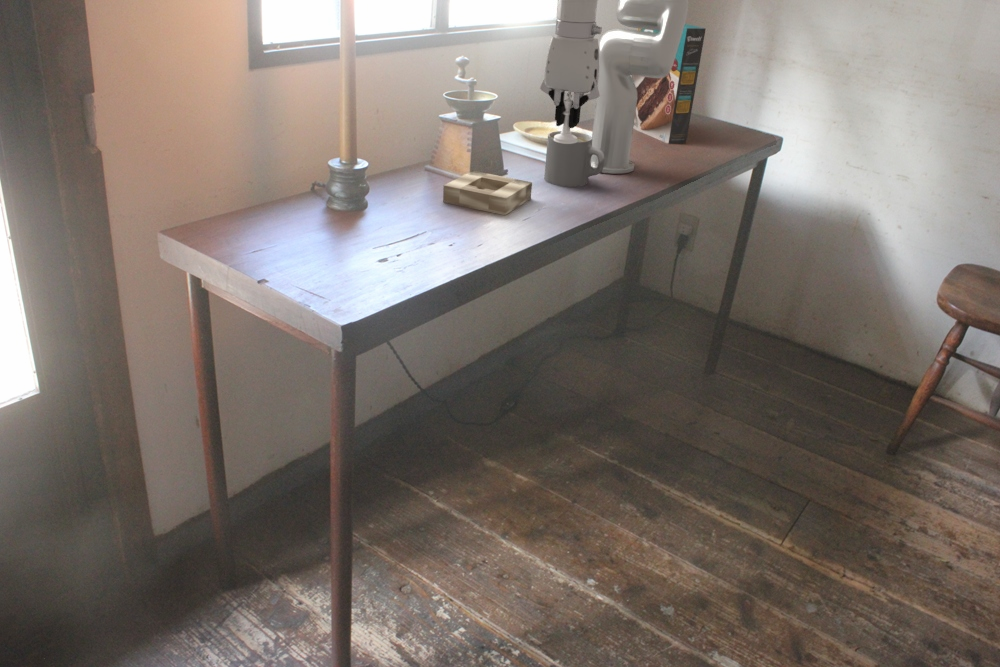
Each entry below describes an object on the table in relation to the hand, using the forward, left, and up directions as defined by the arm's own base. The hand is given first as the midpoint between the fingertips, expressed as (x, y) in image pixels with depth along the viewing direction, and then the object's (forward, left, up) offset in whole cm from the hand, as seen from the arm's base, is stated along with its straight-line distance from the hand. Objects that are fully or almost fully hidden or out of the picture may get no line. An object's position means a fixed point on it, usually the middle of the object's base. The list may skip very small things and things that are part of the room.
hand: (566, 125), depth 161 cm
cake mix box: (-73, +1, -16) cm, 75 cm away
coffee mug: (-13, -2, -16) cm, 21 cm away
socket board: (+10, -12, -16) cm, 22 cm away
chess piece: (0, 0, -3) cm, 3 cm away
